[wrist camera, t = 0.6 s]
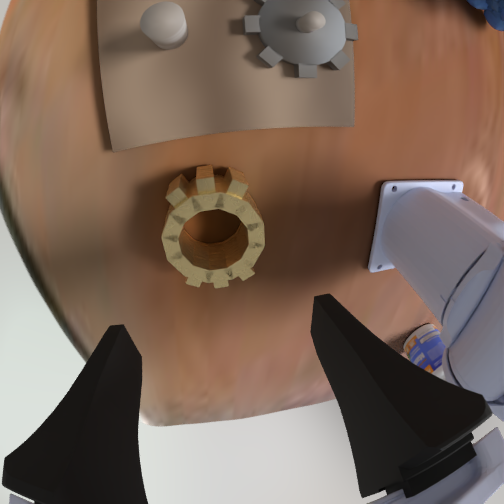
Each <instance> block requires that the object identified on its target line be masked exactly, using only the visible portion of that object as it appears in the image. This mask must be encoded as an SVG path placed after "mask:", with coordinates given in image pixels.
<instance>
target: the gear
mask: <svg viewBox="0 0 504 504" xmlns="http://www.w3.org/2000/svg"><path fill="white" fill-rule="evenodd" d="M248 186H249V185H248V183H247V181H246V179H245V177H244V174H243V172H241V171H238V170H236V169H233V168H231V167H228V169H227V171H226V173H225V176H224V177H223V176H221V175H213V167H212V165H207V166H200V167H197V172H196V178H193V179H192V180H191V181H188V180H187V179H186V178H185V177H184V176H183V174H180V175H179V176H178V177H176V178H175V179H174V180H173V181H171V182H170V184H169V187H168V191H167V194H166V197H165V198H166V199H167V200H168V201H169V202H170V203H171V204H170V206H169V209H168V212H167V214H166V218H165V223H164V227H163V231H162V235H161V238H162V242H163V246H164V250H165V253H166V257H167V260H168V261H169V262H170V263H171V264H172V265H173V266H174V267H175V268H176V269H177V270H178V271H180V272H181V273H182V274H183V275H184V276H185V277H186V284H189V285H192V286H196V287H200V285H201V283H202V281H203V282H206V283H212V282H213V283H214V288H221V287H228V286H229V284H228V280H233V279H234V278H236V277H237V276H239V277H240V278H241V279H242V280H243V281H244V280H246V279H247V278H249V277H251V276H252V275H254V274H255V271H254V268H253V266H254V264H255V262H256V261H257V259H258V257H259V255H260V254H261V252H262V250H263V249H264V247H265V237H264V221H263V219H262V217H261V215H260V212H259V210H258V208H257V206H256V203H255V201H254V200H253V199H252V197H251V196H250V195H249V193H248V192H247V191H246V190H247V188H248ZM214 209H221V210H224V211H226V212H229V213H232V214H235V215H237V216H238V217H239V219H240V220H241V223H240V225H239V227H238V229H237V231H236V233H235V234H234V235H232V236H231V237H229V238H228V239H226V240H225V241H224V242H218V243H211V244H207V243H204V242H201V241H197V240H194V239H193V238H192V237H191V236H190V235H189V234H188V233H187V231H186V230H185V229H184V226H183V225H184V223H185V222H186V221H188V220H189V219H190V218H192V217H193V216H194V215H196V214H197V213H198V212H201V211H207V210H214Z"/></svg>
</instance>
